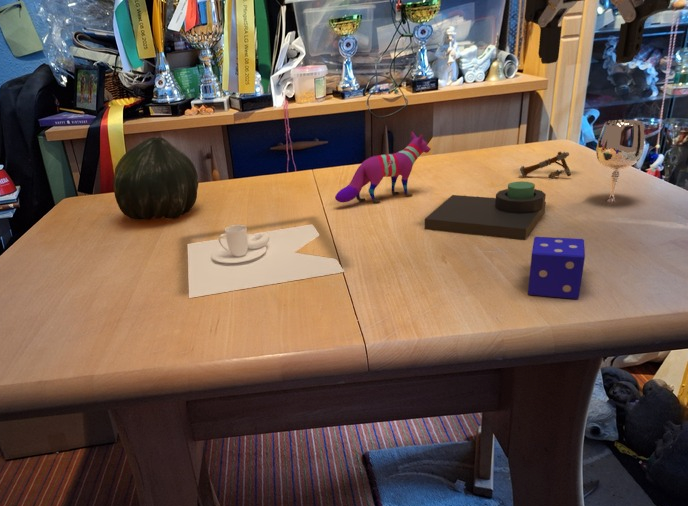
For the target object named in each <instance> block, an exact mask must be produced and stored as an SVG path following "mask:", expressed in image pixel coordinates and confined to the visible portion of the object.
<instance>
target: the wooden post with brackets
mask: <svg viewBox="0 0 688 506" xmlns="http://www.w3.org/2000/svg"><path fill="white" fill-rule="evenodd" d="M569 156H570V153H569V152H568V151H564V152H562V151H558V152H557V154H556V156H553V157H551V158H547V159H544V160H542V161H540V162H539V163H536V164H533V165H530V166H524V165H521V166H520V168H519V170H520V171H519V172H520V174H521V176H522V178H523V179H524V178H526V177H527V176H528V174H530V173H533V172H535V171H537V170H539V169H543V168H546V167H548V166H551V165H552V164H557V165H558V166H560V167H562V168H563V169H564V170H563V169H562V170H560V171H559V169H556V170H555V171H551V172H550V174H548V176H547V177H548V178H549V179H550V178H551V179H554V178H558V177H560V175H562V174H563V173H565V174H566V176H567V177H571V175H572V173H571V170H570V167H569V166H568V164H567V162H566V159H567V157H569Z"/></svg>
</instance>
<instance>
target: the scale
mask: <svg viewBox="0 0 688 506" xmlns="http://www.w3.org/2000/svg"><path fill="white" fill-rule="evenodd" d="M507 191H508V188H506V189H505V188H504V189H502V190H499V191H497V193H496V194H495V197H488V196H487V197H486V196H473V195H459V194H458V195H457V194H452V195H450V197H448V198H447V199H446V200H444V202H442V203H441V204H440V205H439V206H438V207H437V208H435V209H434V210H433V211H432V212H430V214H429V215H427V216H426V217H425V218H424V230H427V231H436V232H445V233H455V234H463V235H472V236H473V235H474V236H483V237H491V238H492V237H493V238H500V239H501V238H502V239H511V240H519V241H526V240H527V238H528V237H529V236H530V234H531V232H532V231H533V229H534V228H535V227H536V225H537V224H538V223H539V221H540V220H541V218H543V215H545V212H546V205H547V204H546V203H547V202H546V198H547V197H546V193H545V192H544V191H543V190H540V189H536V188H535V189H534V197H531V198H525V199H518V198H510V197H507Z"/></svg>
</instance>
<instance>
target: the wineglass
mask: <svg viewBox="0 0 688 506" xmlns="http://www.w3.org/2000/svg"><path fill="white" fill-rule="evenodd" d="M645 138H646V137H645V125H644V121H642V120H637V119H636V120H635V119H615V120H614V119H613V120H608V121H605V122H604V124H603V126H602V129H601V131H600V134H599V137H598V140H597V144H596V149H595V150H596V151H595V152H596V160H597V161H598V163H600V165H602V166H603V167H606V168H608V169H612V170H613V171H612V173H611V175H610V180H611V189H610V195H609V197H608V199H607V200H606V202H608V203H615V202H616V199H615V191H616V186H617V183H618V181H619V179H620V171H619V170H623V169H627V168H629V167H632V166H633V165H635V164H637V163H638V161H640V159H641V157H642V155H643V154H644V153H643V152H644V149H645V140H646V139H645Z"/></svg>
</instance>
